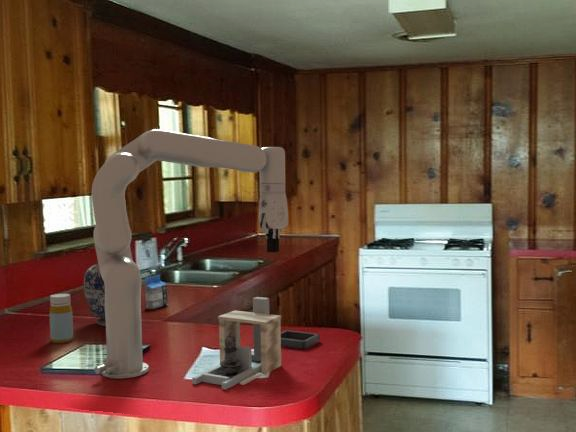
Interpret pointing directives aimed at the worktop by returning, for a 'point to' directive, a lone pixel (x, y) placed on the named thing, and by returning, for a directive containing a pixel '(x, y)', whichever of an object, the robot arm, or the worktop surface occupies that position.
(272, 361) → the tunnel
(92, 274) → the decorative vase
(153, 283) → the label tape box
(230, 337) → the dark grey upright piece
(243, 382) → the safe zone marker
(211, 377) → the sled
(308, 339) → the dark grey flat tray
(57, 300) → the bottle
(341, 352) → the worktop surface
